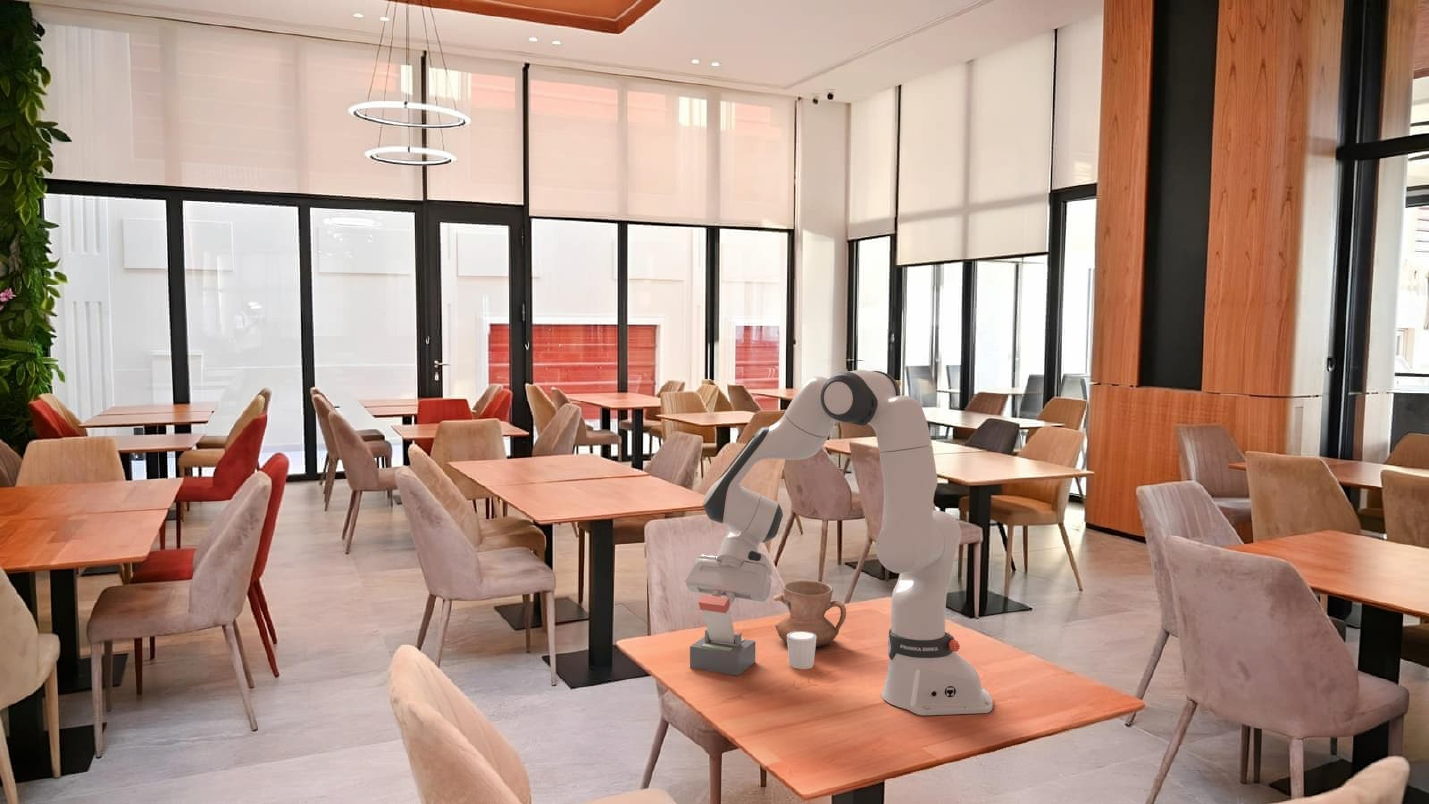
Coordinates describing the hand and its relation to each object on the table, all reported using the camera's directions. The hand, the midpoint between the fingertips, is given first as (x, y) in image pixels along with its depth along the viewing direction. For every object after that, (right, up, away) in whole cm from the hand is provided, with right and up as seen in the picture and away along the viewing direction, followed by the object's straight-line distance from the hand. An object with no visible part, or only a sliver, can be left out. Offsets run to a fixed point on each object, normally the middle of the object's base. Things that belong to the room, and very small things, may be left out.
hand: (718, 611), depth 218 cm
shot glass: (+19, -13, +4) cm, 24 cm away
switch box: (+1, -13, +3) cm, 14 cm away
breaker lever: (+1, -7, +3) cm, 8 cm away
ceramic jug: (+23, -12, +19) cm, 32 cm away
